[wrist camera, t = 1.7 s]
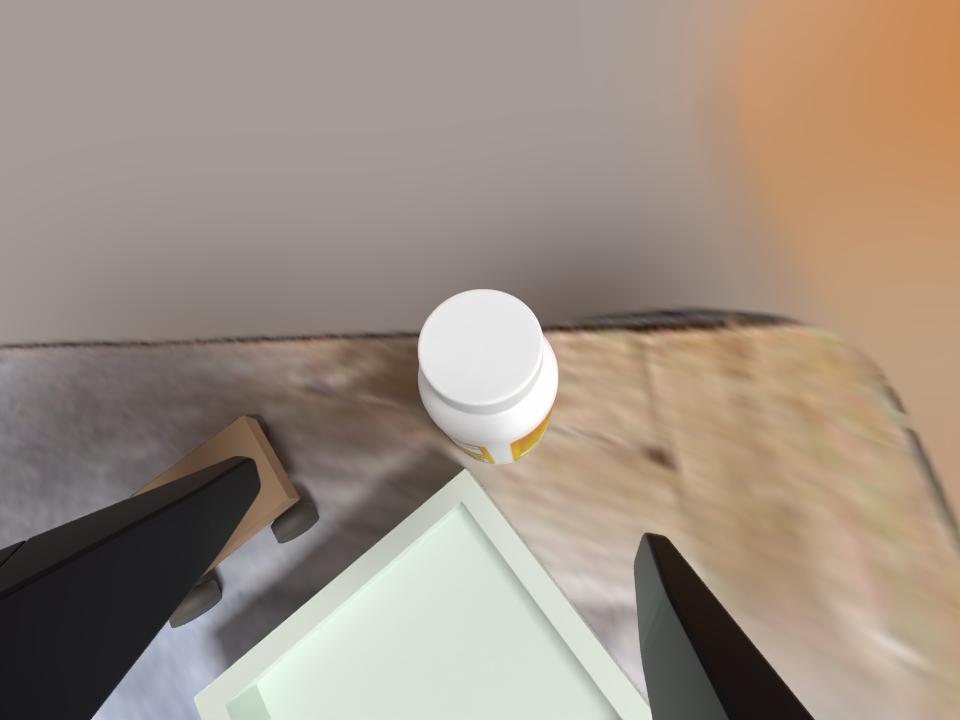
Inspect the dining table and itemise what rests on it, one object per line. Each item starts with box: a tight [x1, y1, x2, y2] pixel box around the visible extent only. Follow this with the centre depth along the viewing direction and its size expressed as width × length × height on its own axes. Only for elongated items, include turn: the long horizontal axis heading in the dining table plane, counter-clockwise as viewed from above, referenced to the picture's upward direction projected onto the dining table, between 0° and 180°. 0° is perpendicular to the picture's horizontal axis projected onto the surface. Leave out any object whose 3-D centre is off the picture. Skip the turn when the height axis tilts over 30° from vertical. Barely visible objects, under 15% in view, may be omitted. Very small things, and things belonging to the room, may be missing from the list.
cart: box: [130, 415, 319, 628], centre depth 18 cm, size 8×7×4 cm
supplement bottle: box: [418, 289, 558, 464], centre depth 16 cm, size 5×5×10 cm
